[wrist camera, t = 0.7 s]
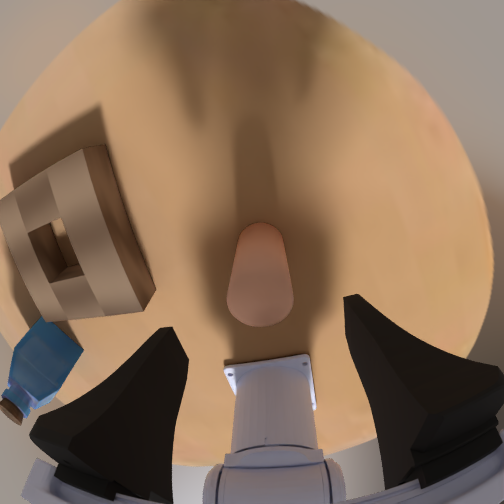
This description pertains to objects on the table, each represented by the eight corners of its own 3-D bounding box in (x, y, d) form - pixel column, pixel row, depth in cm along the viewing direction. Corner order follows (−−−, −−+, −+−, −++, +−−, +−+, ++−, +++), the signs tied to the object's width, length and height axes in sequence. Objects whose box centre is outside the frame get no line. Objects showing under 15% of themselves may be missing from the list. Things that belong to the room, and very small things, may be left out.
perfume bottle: (44, 313, 24) (-15, 385, 13) (84, 350, 25) (36, 430, 14) (34, 336, 26) (-13, 400, 15) (70, 368, 27) (30, 438, 16)
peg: (287, 260, 20) (298, 320, 14) (243, 268, 20) (236, 331, 14) (278, 218, 19) (287, 265, 12) (232, 228, 19) (218, 278, 13)
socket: (156, 289, 21) (143, 311, 19) (60, 305, 23) (45, 322, 20) (105, 144, 17) (82, 148, 14) (15, 195, 18) (-7, 204, 15)
